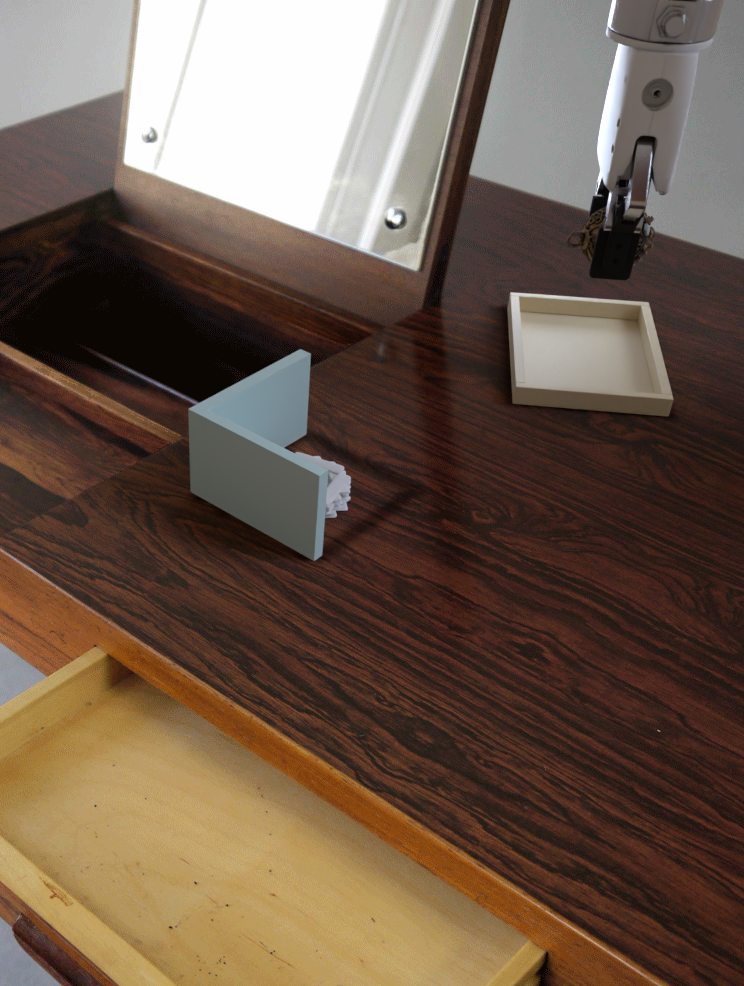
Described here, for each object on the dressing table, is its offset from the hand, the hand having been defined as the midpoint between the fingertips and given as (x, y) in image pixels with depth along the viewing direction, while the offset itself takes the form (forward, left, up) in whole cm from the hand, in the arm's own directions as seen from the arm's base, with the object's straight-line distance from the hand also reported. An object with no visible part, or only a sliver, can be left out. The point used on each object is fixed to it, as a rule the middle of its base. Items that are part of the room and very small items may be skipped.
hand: (605, 259), depth 93 cm
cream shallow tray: (0, 0, -9) cm, 9 cm away
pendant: (0, 0, -1) cm, 1 cm away
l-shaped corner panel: (+22, +24, -10) cm, 34 cm away
